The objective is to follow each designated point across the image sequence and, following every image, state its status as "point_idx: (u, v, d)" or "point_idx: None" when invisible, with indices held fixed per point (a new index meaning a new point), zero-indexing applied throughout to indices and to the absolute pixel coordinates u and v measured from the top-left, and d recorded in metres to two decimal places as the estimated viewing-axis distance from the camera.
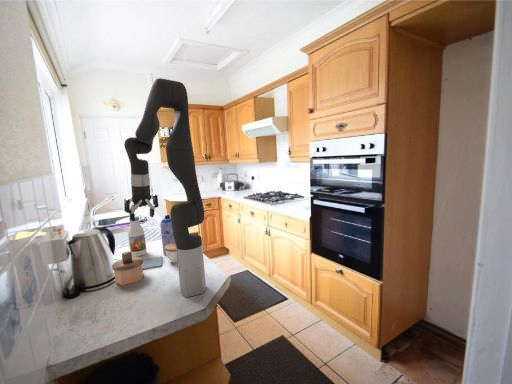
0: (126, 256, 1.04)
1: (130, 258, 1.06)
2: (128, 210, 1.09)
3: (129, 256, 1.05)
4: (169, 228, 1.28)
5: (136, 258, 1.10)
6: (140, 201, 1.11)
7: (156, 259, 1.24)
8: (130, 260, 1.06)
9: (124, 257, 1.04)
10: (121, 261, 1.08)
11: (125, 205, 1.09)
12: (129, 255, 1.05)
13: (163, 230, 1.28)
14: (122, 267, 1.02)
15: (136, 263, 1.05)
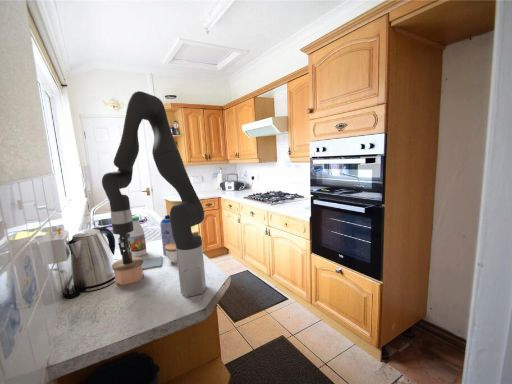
0: None
1: (130, 258, 1.06)
2: (127, 251, 1.02)
3: (129, 256, 1.05)
4: (169, 228, 1.28)
5: (136, 258, 1.10)
6: (129, 238, 1.04)
7: (156, 259, 1.24)
8: (130, 260, 1.06)
9: None
10: (121, 261, 1.08)
11: (123, 249, 1.00)
12: (129, 255, 1.05)
13: (163, 230, 1.28)
14: (122, 267, 1.02)
15: (136, 263, 1.05)
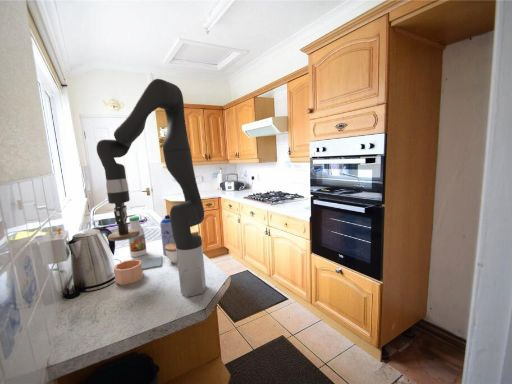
0: None
1: (126, 229, 1.04)
2: (123, 220, 1.00)
3: (125, 227, 1.03)
4: (169, 228, 1.28)
5: (132, 230, 1.08)
6: (125, 209, 1.02)
7: (156, 259, 1.24)
8: (126, 231, 1.04)
9: None
10: (117, 233, 1.06)
11: (118, 218, 0.98)
12: (125, 226, 1.03)
13: (163, 230, 1.28)
14: (118, 237, 1.00)
15: (132, 234, 1.03)
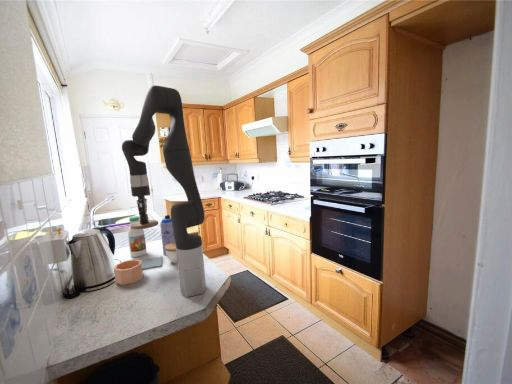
0: None
1: (147, 219, 1.17)
2: (145, 211, 1.13)
3: (146, 217, 1.17)
4: (169, 228, 1.28)
5: (151, 221, 1.21)
6: (146, 201, 1.16)
7: (156, 259, 1.24)
8: (147, 221, 1.17)
9: None
10: (138, 223, 1.19)
11: (141, 209, 1.11)
12: (146, 216, 1.17)
13: (163, 230, 1.28)
14: (140, 226, 1.13)
15: (152, 223, 1.16)
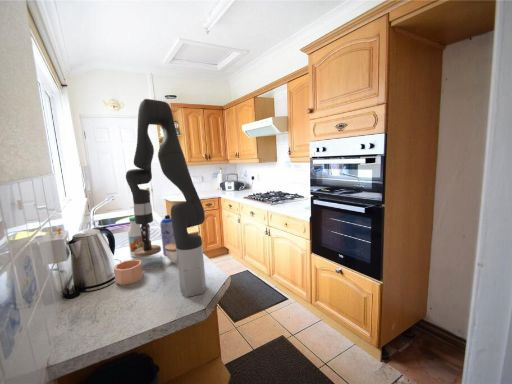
0: None
1: (150, 246, 1.19)
2: (148, 239, 1.15)
3: (149, 244, 1.19)
4: (169, 228, 1.28)
5: (154, 246, 1.23)
6: (149, 228, 1.18)
7: (156, 259, 1.24)
8: (150, 247, 1.19)
9: None
10: (141, 248, 1.21)
11: (144, 237, 1.13)
12: (149, 243, 1.19)
13: (163, 230, 1.28)
14: (143, 253, 1.15)
15: (155, 250, 1.18)
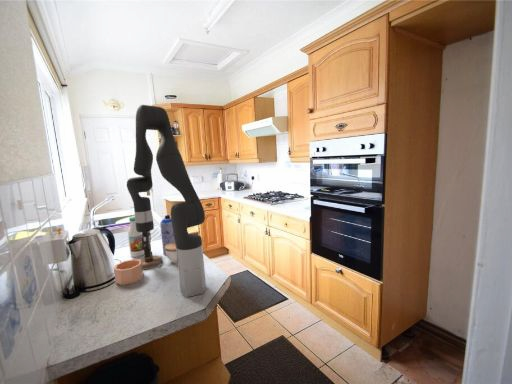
0: None
1: (151, 257, 1.20)
2: (148, 246, 1.14)
3: (150, 255, 1.19)
4: (169, 228, 1.28)
5: (156, 257, 1.24)
6: (150, 235, 1.18)
7: None
8: (151, 259, 1.20)
9: None
10: (143, 260, 1.22)
11: (145, 243, 1.13)
12: (150, 254, 1.19)
13: (163, 230, 1.28)
14: (145, 265, 1.16)
15: (156, 261, 1.19)
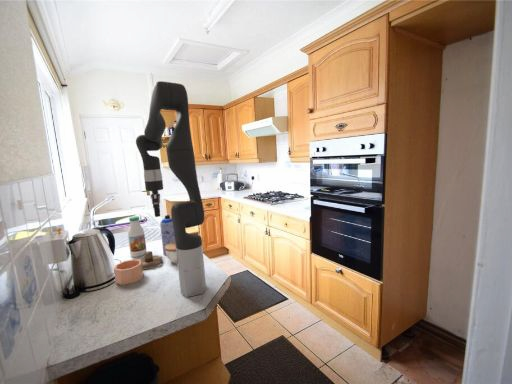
0: (148, 255, 1.19)
1: (151, 257, 1.20)
2: None
3: (150, 255, 1.19)
4: (169, 228, 1.28)
5: (156, 257, 1.24)
6: None
7: None
8: (151, 259, 1.20)
9: (146, 256, 1.18)
10: (143, 260, 1.22)
11: (155, 200, 1.11)
12: (150, 254, 1.19)
13: (163, 230, 1.28)
14: (145, 265, 1.16)
15: (156, 261, 1.19)
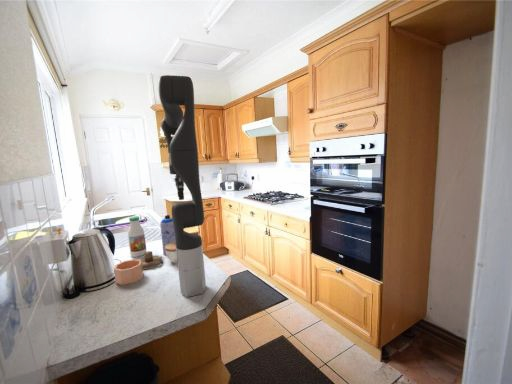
0: (148, 255, 1.19)
1: (151, 257, 1.20)
2: (183, 187, 1.13)
3: (150, 255, 1.19)
4: (169, 228, 1.28)
5: (156, 257, 1.24)
6: None
7: None
8: (151, 259, 1.20)
9: (146, 256, 1.18)
10: (143, 260, 1.22)
11: (180, 183, 1.11)
12: (150, 254, 1.19)
13: (163, 230, 1.28)
14: (145, 265, 1.16)
15: (156, 261, 1.19)
